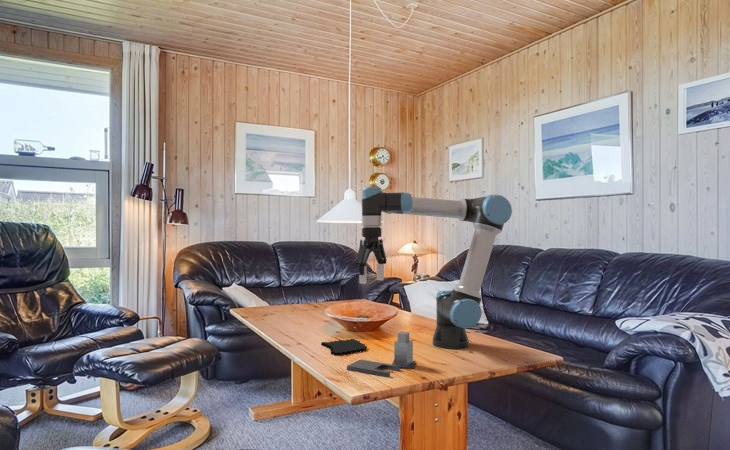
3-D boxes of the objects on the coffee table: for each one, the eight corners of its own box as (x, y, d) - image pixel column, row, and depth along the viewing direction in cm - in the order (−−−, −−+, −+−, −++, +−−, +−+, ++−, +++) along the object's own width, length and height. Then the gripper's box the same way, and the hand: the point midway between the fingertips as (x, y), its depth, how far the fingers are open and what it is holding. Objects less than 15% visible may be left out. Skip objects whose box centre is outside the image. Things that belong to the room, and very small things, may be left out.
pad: (415, 362, 166) (415, 360, 166) (413, 369, 158) (413, 367, 158) (393, 361, 167) (393, 359, 167) (391, 367, 159) (391, 366, 159)
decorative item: (327, 337, 200) (371, 339, 196) (327, 341, 200) (371, 343, 196) (311, 351, 178) (360, 353, 174) (311, 355, 178) (360, 357, 174)
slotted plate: (347, 369, 157) (347, 365, 157) (360, 363, 165) (360, 359, 165) (388, 377, 149) (388, 372, 149) (399, 369, 157) (399, 365, 157)
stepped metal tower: (394, 364, 162) (394, 333, 162) (400, 360, 166) (400, 330, 166) (407, 366, 159) (406, 334, 159) (412, 362, 163) (412, 332, 164)
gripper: (378, 227, 187) (378, 278, 187) (346, 226, 165) (346, 284, 165) (394, 227, 183) (394, 279, 183) (363, 226, 162) (363, 285, 161)
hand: (371, 282), depth 174 cm, fingers open, 13 cm apart
